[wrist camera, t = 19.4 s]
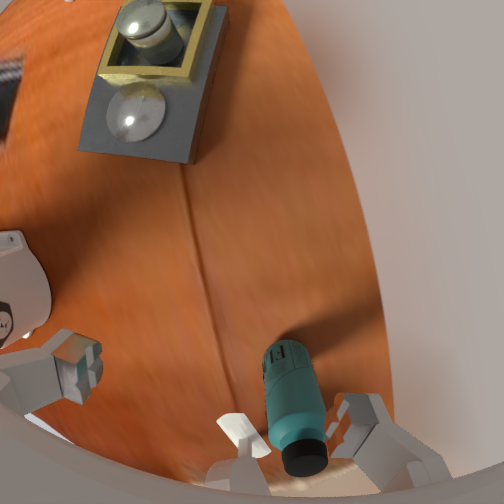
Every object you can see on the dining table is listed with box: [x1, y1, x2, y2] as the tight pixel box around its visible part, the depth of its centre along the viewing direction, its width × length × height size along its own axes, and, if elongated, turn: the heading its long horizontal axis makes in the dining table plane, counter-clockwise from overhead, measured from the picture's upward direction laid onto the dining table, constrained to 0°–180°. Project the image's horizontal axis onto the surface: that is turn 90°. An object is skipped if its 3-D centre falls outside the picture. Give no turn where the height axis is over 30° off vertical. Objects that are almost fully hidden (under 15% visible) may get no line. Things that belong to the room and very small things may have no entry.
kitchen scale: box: [78, 0, 230, 165], centre depth 28 cm, size 20×14×6 cm
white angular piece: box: [205, 413, 272, 496], centre depth 35 cm, size 16×5×18 cm, turn 24°
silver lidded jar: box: [116, 0, 183, 64], centre depth 24 cm, size 5×7×9 cm
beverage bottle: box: [262, 340, 328, 477], centre depth 30 cm, size 6×7×20 cm
